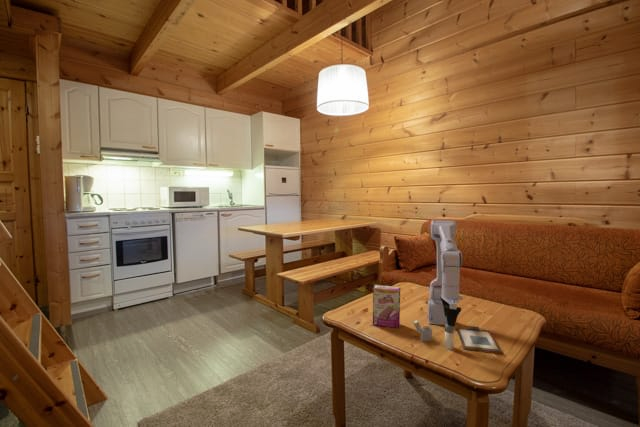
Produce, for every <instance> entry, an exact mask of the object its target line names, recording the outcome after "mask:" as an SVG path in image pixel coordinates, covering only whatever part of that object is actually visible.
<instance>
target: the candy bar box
mask: <svg viewBox="0 0 640 427" xmlns="http://www.w3.org/2000/svg"><path fill="white" fill-rule="evenodd" d="M372 291H373V292H372V293H373V294H372V297H373V298H372V325H373V326H379V327H386V328H396V329H400V324H401V323H400V322H401V321H400V320H401V317H400V315H401V287H400V286H393V285H380V284H374V285H373V289H372Z"/></svg>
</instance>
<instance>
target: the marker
mask: <svg viewBox="0 0 640 427" xmlns="http://www.w3.org/2000/svg"><path fill="white" fill-rule="evenodd" d="M454 334H455V326H448V323H446V324H445V325H444V348H445V349H446V350H448V351H449V350H450V351H451V350H452V351H453V350H454V342H455V341H454V338H455V337H454V336H455V335H454Z"/></svg>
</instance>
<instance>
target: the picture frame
mask: <svg viewBox="0 0 640 427" xmlns="http://www.w3.org/2000/svg"><path fill="white" fill-rule="evenodd" d="M455 328H456V332H457V334H458V337H459V339H460V343H461V345H462V348H463V350H466V351H475V352H481V353H491V354H498V353H501V354H502V350H501V349H500V347H499V345H498V344H497V342H496V340H495V339H494V337H493V335H492V334H491V332H490V330H486V329H480V327H479V326H475V325H474V326H473V325H466V327H458V326H456V327H455Z"/></svg>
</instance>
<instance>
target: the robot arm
mask: <svg viewBox="0 0 640 427" xmlns="http://www.w3.org/2000/svg"><path fill="white" fill-rule="evenodd" d="M456 234H457V222H456V221H455V220H433V219H432V220H431V221H430V238H431V240H434V241H435V245H436V278H434V279H433V280H432V281H431V282H430V284H429V299H430V300H428V301H427V313H426V317H427V322H428V324H430V325H440V326H445V324H446V323H448V326H454V327H455V326H456V323H457V320H458V316H459V314H460V313H461V312H462V308H461V307H460V306H458V305H457V304H458V303H459V301H463V300H464V298H463V295H462V296H461V295H460V280H461V279H460V278H461V277H460V274H461V271H460V270H461V268H462V267H463V266H462V265H463V255H462V254H463V253H462V252H461V251H460V249H458V246H457V242H456V240H455V239H454V238H455V236H456Z"/></svg>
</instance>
